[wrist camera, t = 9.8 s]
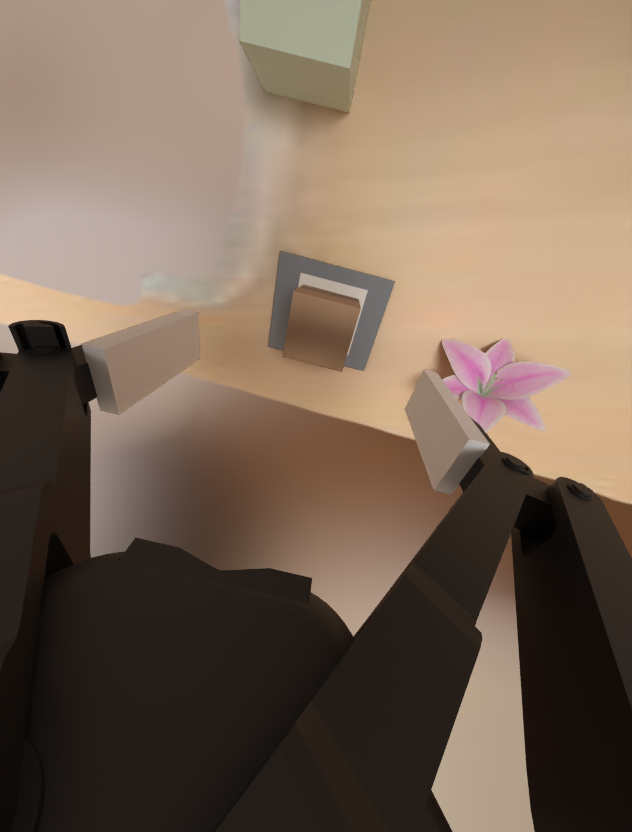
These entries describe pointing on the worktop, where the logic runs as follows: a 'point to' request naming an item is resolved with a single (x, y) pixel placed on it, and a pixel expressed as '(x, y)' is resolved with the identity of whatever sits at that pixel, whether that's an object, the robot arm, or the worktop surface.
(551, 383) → the lily
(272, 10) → the sage block
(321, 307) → the walnut block
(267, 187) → the worktop surface
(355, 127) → the worktop surface
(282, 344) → the slate build plate
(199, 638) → the robot arm
